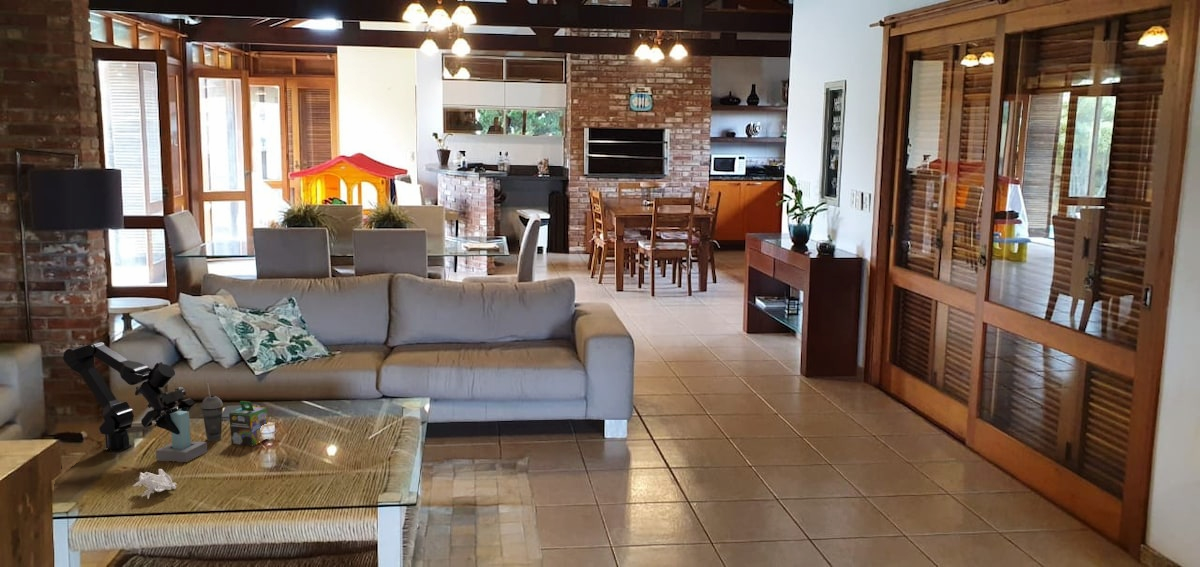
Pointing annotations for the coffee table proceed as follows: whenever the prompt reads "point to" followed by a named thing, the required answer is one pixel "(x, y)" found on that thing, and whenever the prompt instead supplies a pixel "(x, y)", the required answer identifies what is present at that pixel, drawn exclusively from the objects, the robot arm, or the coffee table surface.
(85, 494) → the coffee table surface
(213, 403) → the beverage cup
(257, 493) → the coffee table surface
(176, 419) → the peg
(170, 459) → the socket
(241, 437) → the chalk box
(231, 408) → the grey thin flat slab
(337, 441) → the coffee table surface
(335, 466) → the coffee table surface
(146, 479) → the white crumpled lump
